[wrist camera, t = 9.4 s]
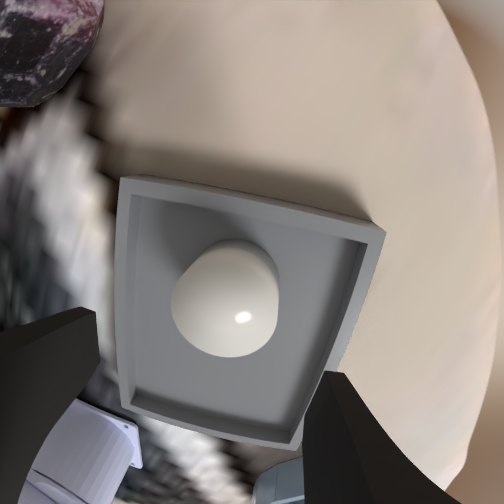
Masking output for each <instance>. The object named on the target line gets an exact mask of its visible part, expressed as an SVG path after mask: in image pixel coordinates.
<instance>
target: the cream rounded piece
mask: <svg viewBox="0 0 504 504" xmlns="http://www.w3.org/2000/svg"><path fill="white" fill-rule="evenodd" d="M279 289H280V277H279V272H278V269H277V266H276V264H275V262H274V261H273V259H272V258H271V256H270V255H269V254H268V253H267V252H266V251H265V250H264V249H262V248H261V247H260V246H258V245H256V244H254V243H252V242H250V241H246V240H242V239H226V240H221V241H219V242H216V243H214V244H212V245H210V246H209V247H208V248H206V249H205V250H204V251H203V252H202V253H201V255H200V256H199V257H198V258H197V259H196V260H195V261H194V263H193V264H192V265H191V266H190V267H189V268H188V269H187V271H186V272H185V273H184V274H183V275H182V276H181V277H180V279H179V280H178V282H177V283H176V285H175V287H174V289H173V292H172V296H171V313H172V316H173V320H174V322H175V324H176V326H177V328H178V330H179V331H180V333H181V334H182V335H183V336H184V337H185V339H186V340H187V341H189V342H190V343H191V344H192V345H194V346H195V347H196V348H198V349H200V350H202V351H204V352H206V353H208V354H211V355H215V356H220V357H240V356H244V355H248V354H250V353H253V352H255V351H256V350H258V349H260V348H261V347H262V346H264V345H265V344H266V343H267V342H268V340H269V339H270V338H271V336H272V334H273V333H274V330H275V328H276V324H277V318H278V304H279Z"/></svg>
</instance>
